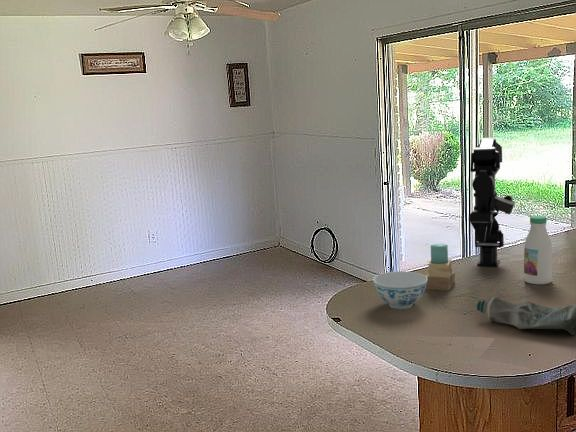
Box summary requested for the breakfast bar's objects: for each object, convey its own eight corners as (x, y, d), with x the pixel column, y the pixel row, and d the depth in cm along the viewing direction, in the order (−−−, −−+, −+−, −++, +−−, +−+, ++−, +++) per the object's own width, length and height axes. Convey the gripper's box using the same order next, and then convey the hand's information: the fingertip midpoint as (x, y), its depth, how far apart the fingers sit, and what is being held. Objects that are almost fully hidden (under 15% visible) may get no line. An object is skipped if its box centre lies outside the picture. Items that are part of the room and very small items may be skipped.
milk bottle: (546, 277, 188) (547, 213, 184) (555, 284, 180) (556, 218, 177) (520, 278, 189) (521, 215, 185) (528, 285, 181) (528, 220, 177)
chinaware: (428, 314, 163) (428, 287, 162) (372, 314, 166) (371, 287, 165) (427, 296, 178) (426, 271, 176) (375, 296, 181) (374, 271, 179)
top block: (432, 271, 190) (431, 258, 189) (451, 272, 187) (451, 259, 186) (428, 276, 184) (428, 263, 183) (448, 277, 182) (448, 264, 181)
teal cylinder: (433, 259, 188) (433, 243, 188) (449, 259, 186) (449, 244, 185) (429, 263, 184) (428, 247, 183) (445, 264, 182) (445, 247, 181)
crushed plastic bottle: (588, 324, 149) (487, 307, 164) (589, 297, 147) (486, 283, 162) (576, 348, 139) (469, 327, 154) (577, 319, 137) (469, 301, 152)
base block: (430, 282, 192) (430, 269, 191) (454, 284, 188) (454, 271, 187) (424, 289, 185) (423, 276, 184) (448, 291, 182) (448, 278, 181)
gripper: (508, 194, 173) (508, 247, 175) (516, 184, 189) (516, 233, 192) (468, 193, 178) (468, 245, 181) (479, 184, 194) (480, 231, 197)
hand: (485, 238), depth 187 cm, fingers open, 9 cm apart
